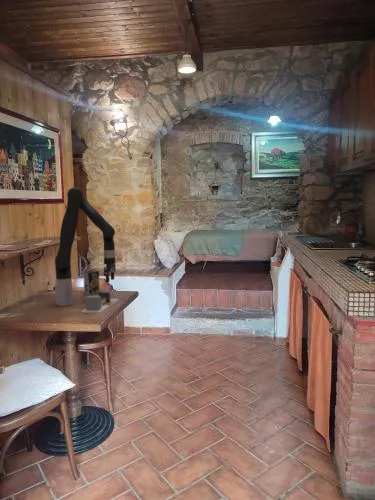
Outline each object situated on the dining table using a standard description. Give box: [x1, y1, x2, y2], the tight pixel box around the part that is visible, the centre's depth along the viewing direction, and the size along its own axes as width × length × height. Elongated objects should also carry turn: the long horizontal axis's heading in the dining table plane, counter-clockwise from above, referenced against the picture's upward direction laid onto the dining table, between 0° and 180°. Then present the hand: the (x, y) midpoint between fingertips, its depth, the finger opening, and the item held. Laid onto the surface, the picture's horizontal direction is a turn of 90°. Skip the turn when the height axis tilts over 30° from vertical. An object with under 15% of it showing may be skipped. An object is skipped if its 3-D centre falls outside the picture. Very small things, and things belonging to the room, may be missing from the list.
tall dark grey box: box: [97, 291, 111, 306], centre depth 233 cm, size 10×13×6 cm
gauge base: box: [80, 295, 120, 314], centre depth 234 cm, size 12×31×9 cm, turn 170°
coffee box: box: [83, 270, 101, 296], centre depth 268 cm, size 9×6×16 cm
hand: (110, 280), depth 249 cm, fingers open, 8 cm apart
